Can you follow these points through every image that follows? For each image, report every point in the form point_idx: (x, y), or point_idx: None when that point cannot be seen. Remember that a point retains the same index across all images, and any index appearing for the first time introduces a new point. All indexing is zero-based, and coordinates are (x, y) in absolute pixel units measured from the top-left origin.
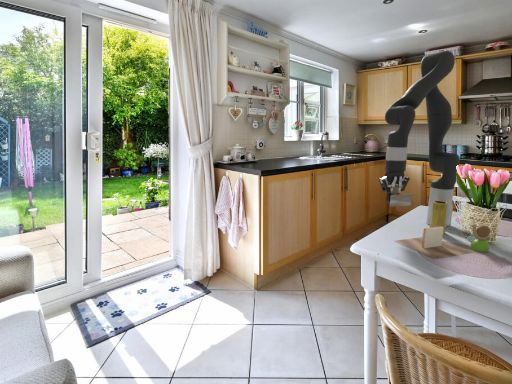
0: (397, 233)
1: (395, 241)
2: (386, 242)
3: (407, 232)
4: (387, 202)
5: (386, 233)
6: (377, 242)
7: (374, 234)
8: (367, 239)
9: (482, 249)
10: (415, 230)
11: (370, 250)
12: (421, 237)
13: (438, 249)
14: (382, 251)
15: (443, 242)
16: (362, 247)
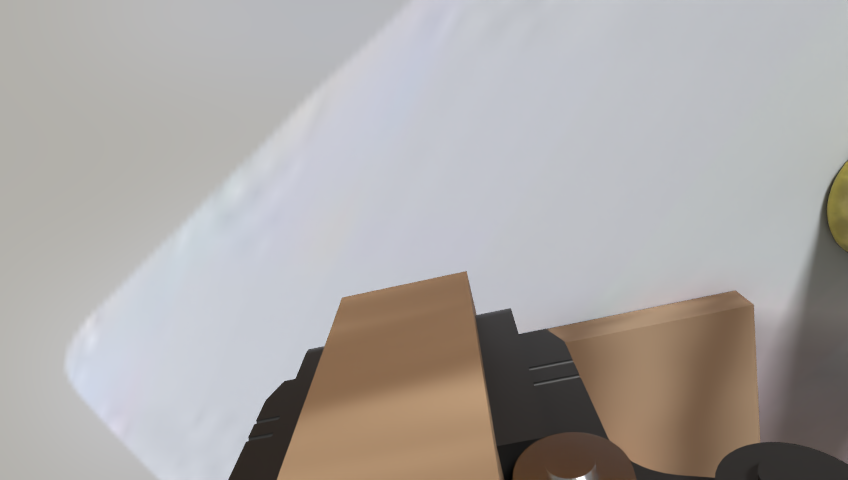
0: (561, 102)
1: None
2: (329, 319)
3: (686, 78)
4: (344, 307)
5: (448, 92)
6: (254, 314)
7: (310, 113)
8: (193, 241)
9: None
10: (824, 17)
11: (143, 449)
12: (647, 331)
13: None
14: (221, 469)
15: (733, 444)
16: (100, 397)
